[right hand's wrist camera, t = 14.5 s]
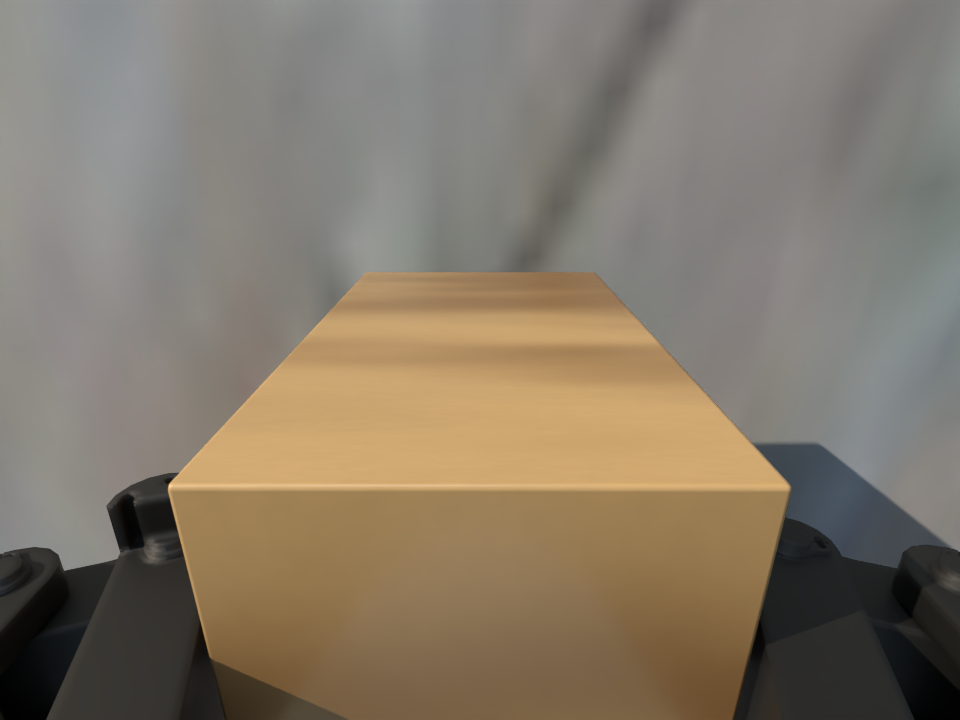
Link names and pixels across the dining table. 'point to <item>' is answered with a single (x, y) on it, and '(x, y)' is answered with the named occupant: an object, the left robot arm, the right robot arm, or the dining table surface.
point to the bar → (479, 516)
